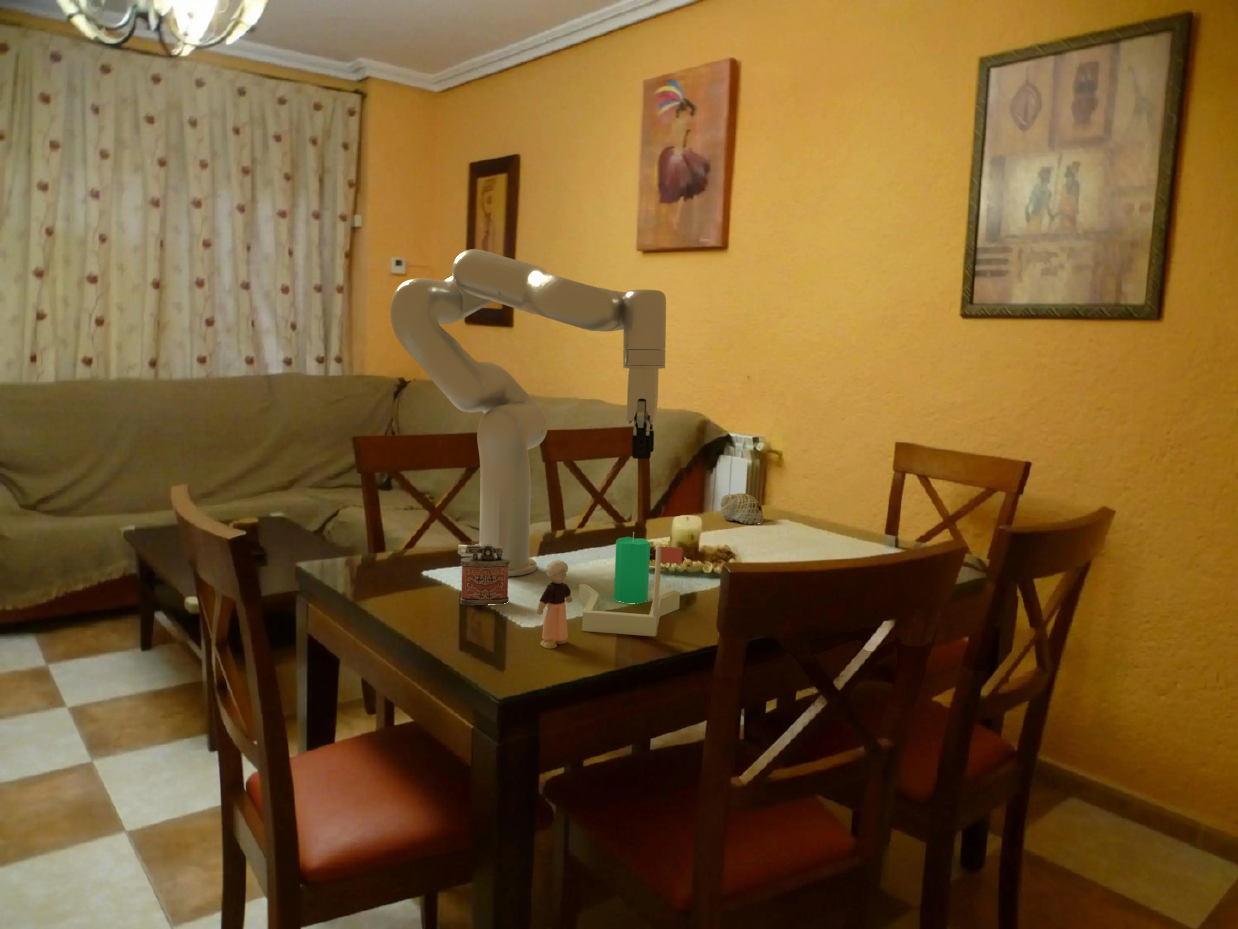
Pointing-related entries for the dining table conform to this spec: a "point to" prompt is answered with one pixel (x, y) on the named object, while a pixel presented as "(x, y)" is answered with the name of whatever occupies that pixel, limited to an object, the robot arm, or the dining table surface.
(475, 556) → the lighter
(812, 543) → the dining table surface
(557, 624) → the grandmother figurine
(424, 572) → the dining table surface
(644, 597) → the candle
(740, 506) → the seashell
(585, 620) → the white tray with post
